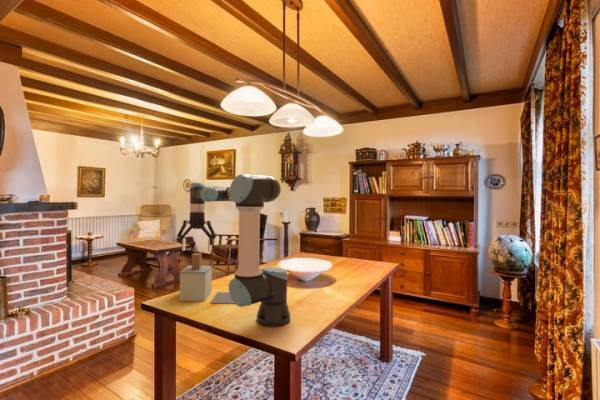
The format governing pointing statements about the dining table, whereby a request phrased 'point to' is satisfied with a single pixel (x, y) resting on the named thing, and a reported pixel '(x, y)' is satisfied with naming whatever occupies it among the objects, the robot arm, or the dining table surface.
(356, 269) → the dining table surface
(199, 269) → the lid
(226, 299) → the mat
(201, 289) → the box
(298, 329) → the dining table surface
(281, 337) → the dining table surface
